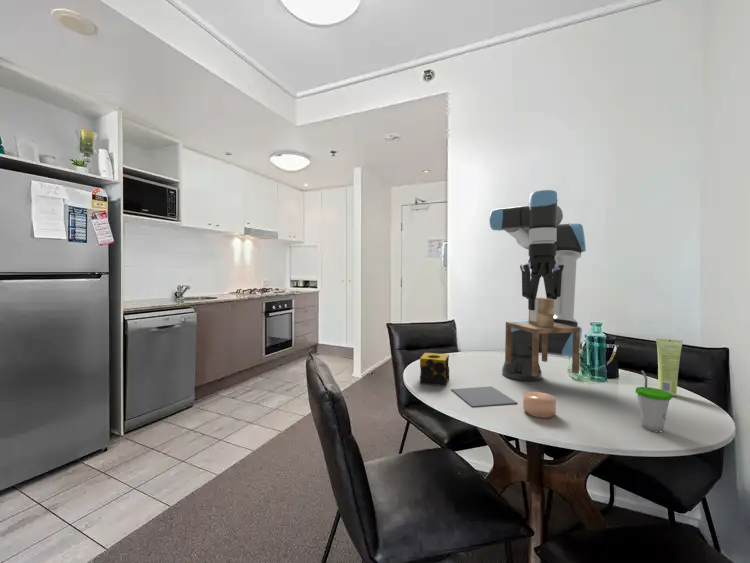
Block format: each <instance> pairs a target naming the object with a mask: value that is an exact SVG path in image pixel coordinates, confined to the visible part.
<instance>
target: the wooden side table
mask: <svg viewBox="0 0 750 563" xmlns="http://www.w3.org/2000/svg"><path fill="white" fill-rule="evenodd" d="M535 300H538V322H535V321H530V310H529V309H528V319H529V321H521V322H511V321H505V346H504V348H505V353H504V354H505V355H504V362H505V363H506V364H511V327H512V328H516V329H520V330H523V331H527V332H530V333H532V376H534V377H535V376H538V363H539V356H540V353H539V334H542V353H541V362H543V363H548V354H547V353H548V333H571V332H573V356H572V361H571V362H572V364H571V365H572V366H571V373H572V374H575V375H577V374H579V373H580V345H581V341H580V328H578V327H579V326H578V327H573V326H568V325H563V324H559V323H554V299H548V298H547V297H536V299H535Z"/></svg>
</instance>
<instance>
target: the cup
mask: <svg viewBox="0 0 750 563" xmlns="http://www.w3.org/2000/svg"><path fill="white" fill-rule="evenodd" d="M640 372H641V374H642V376H643V377H644V386H639V387H636V388H635V394H637V399H638V400H637V401H638V407H639V409H638V410H639V415H640V423H641V427H642V428H643V429H644V428H645V429H644V430H646V429H647V431H649V430H651V431H650V432H653V431H657V432H656V433H661V432H660V431H663V432H664V427H665V421H666V417H667V414H668V413H667V412H668V408H669V404H670V400H672V398H673V396H672V394H671V393H669V392H667V391H664V390H660V389H658V388H654V387H648V377H647V374H646V373H645V371H644V370H641V371H640Z"/></svg>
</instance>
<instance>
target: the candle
mask: <svg viewBox="0 0 750 563" xmlns="http://www.w3.org/2000/svg"><path fill="white" fill-rule="evenodd" d="M449 359H450V354H447V353H446V354H445V353H437V352H436V353H434V352H424V353H423V354H422V355H421V356H420V358H419V367H420V372H419V373H420V376H419V383H420V384H424V385H432V386H433V385H434V386H441V387H445V386H447V384H448V382H449V380H450V367H449Z"/></svg>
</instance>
